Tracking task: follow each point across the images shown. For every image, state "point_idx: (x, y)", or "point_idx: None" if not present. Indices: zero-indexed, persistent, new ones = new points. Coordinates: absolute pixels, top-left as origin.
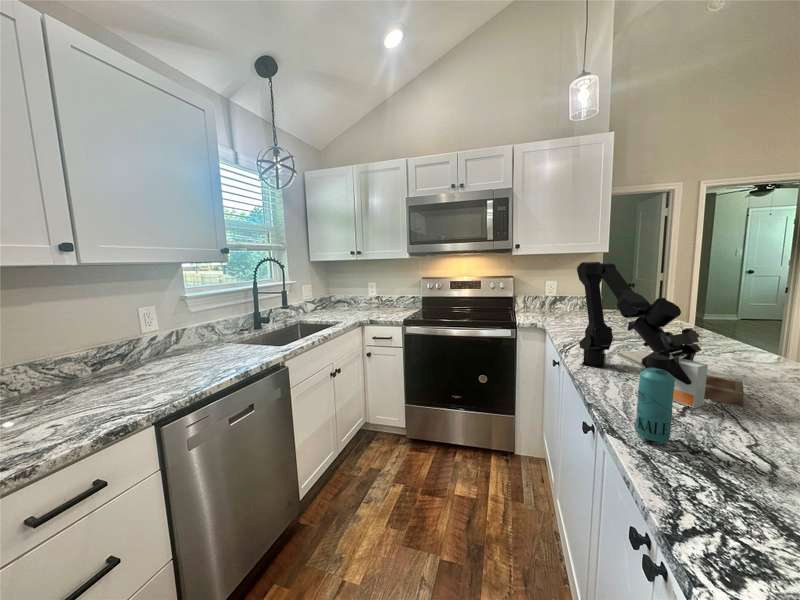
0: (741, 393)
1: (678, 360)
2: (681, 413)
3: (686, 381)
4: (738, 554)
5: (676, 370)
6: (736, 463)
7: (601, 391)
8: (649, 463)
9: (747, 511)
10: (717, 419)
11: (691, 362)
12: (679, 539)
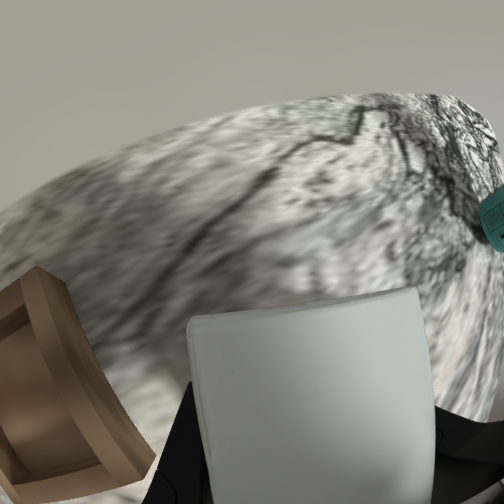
0: (33, 276)
1: (489, 453)
2: None
3: None
4: (471, 115)
5: None
6: (410, 137)
7: None
8: None
9: (448, 116)
10: (278, 245)
11: (343, 469)
12: (493, 139)
